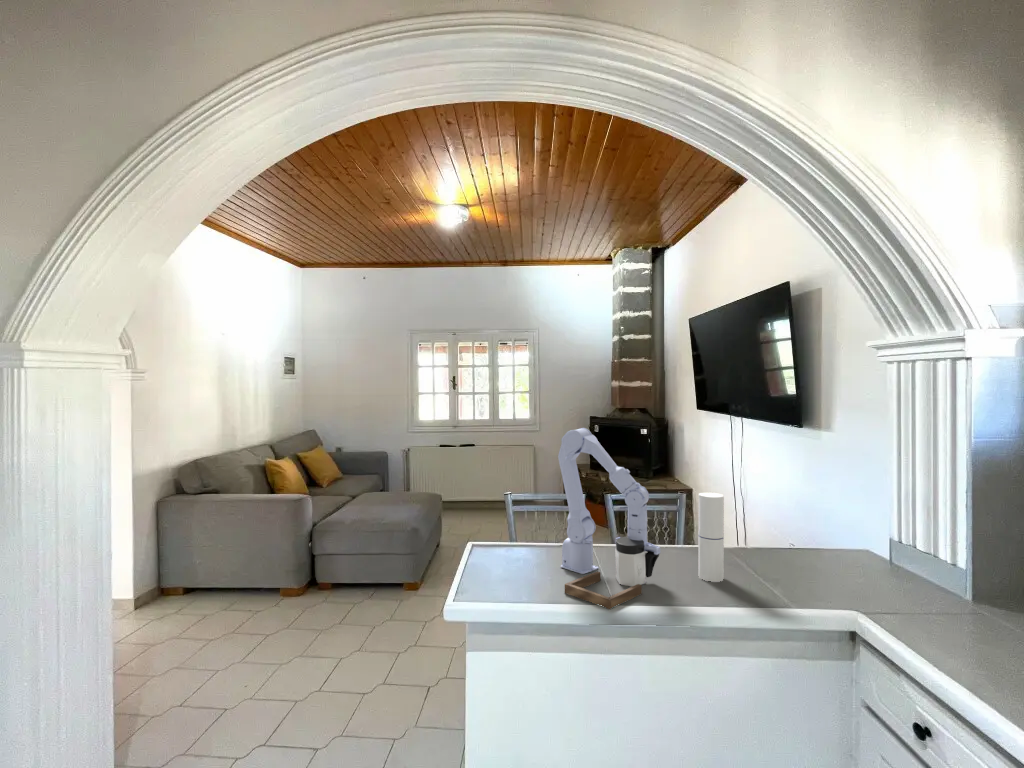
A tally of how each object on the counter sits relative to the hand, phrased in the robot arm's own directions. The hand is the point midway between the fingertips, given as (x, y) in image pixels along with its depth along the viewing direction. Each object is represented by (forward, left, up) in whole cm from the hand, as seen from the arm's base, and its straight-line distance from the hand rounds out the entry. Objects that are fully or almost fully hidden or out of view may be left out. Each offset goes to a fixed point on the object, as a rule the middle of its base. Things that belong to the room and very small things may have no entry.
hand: (637, 573), depth 166 cm
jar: (0, -4, -2) cm, 4 cm away
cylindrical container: (+15, +16, -2) cm, 22 cm away
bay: (0, -17, -2) cm, 17 cm away
